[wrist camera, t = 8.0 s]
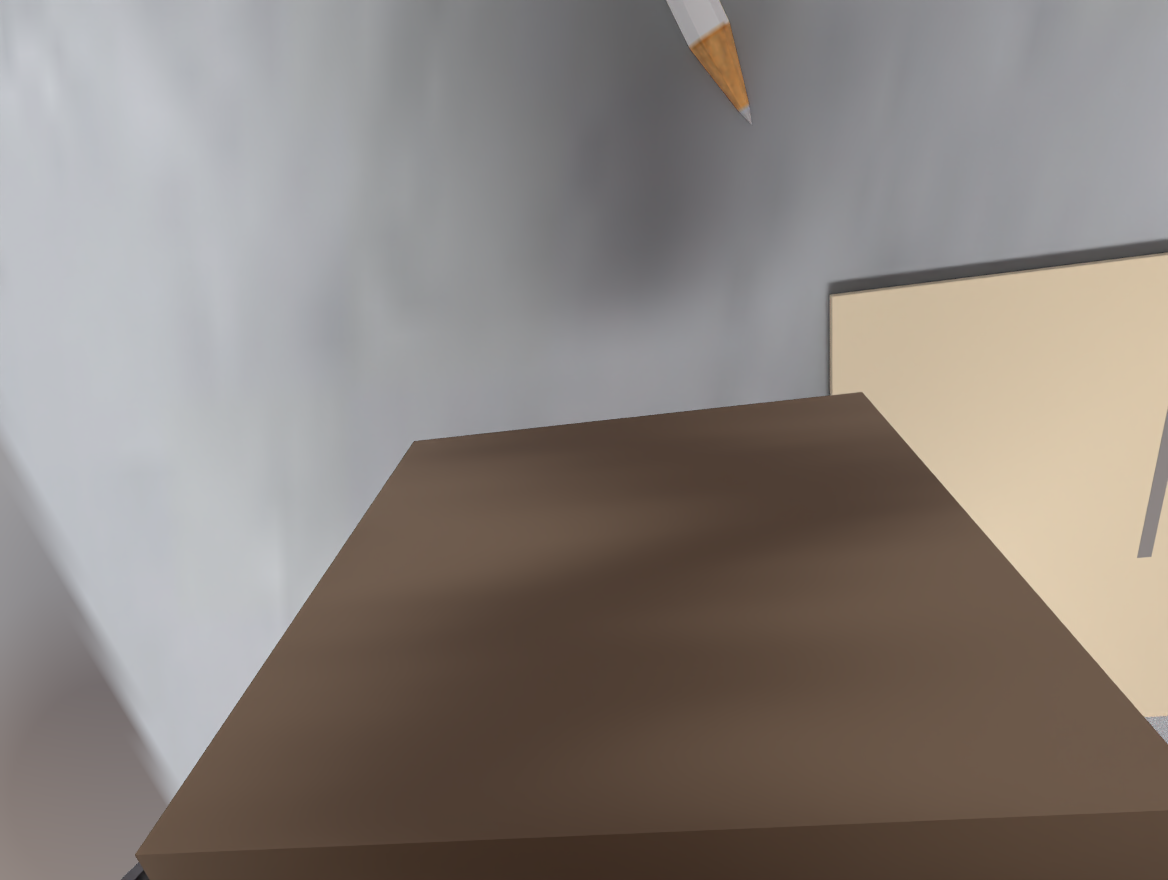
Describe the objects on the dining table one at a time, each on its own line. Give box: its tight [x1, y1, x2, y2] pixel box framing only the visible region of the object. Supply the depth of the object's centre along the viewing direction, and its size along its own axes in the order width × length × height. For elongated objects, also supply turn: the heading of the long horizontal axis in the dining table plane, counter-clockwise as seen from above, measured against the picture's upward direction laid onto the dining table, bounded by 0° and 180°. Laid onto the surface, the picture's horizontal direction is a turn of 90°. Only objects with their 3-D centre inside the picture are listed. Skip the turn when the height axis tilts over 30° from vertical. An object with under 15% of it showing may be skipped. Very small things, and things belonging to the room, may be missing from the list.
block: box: [135, 392, 1168, 880], centre depth 8 cm, size 6×6×6 cm
